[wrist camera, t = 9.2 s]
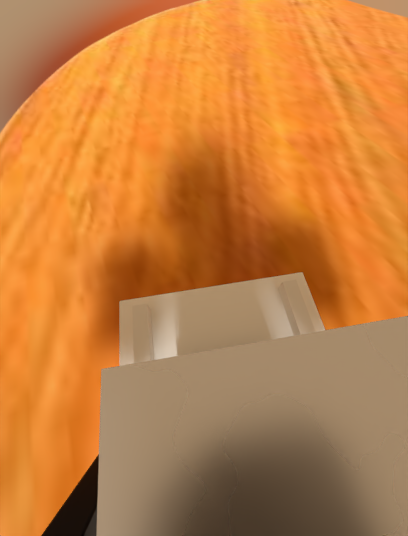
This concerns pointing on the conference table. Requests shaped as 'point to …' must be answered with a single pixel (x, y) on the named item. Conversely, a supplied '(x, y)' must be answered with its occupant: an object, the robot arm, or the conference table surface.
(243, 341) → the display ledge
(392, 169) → the conference table surface
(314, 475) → the tall brushed metal block
